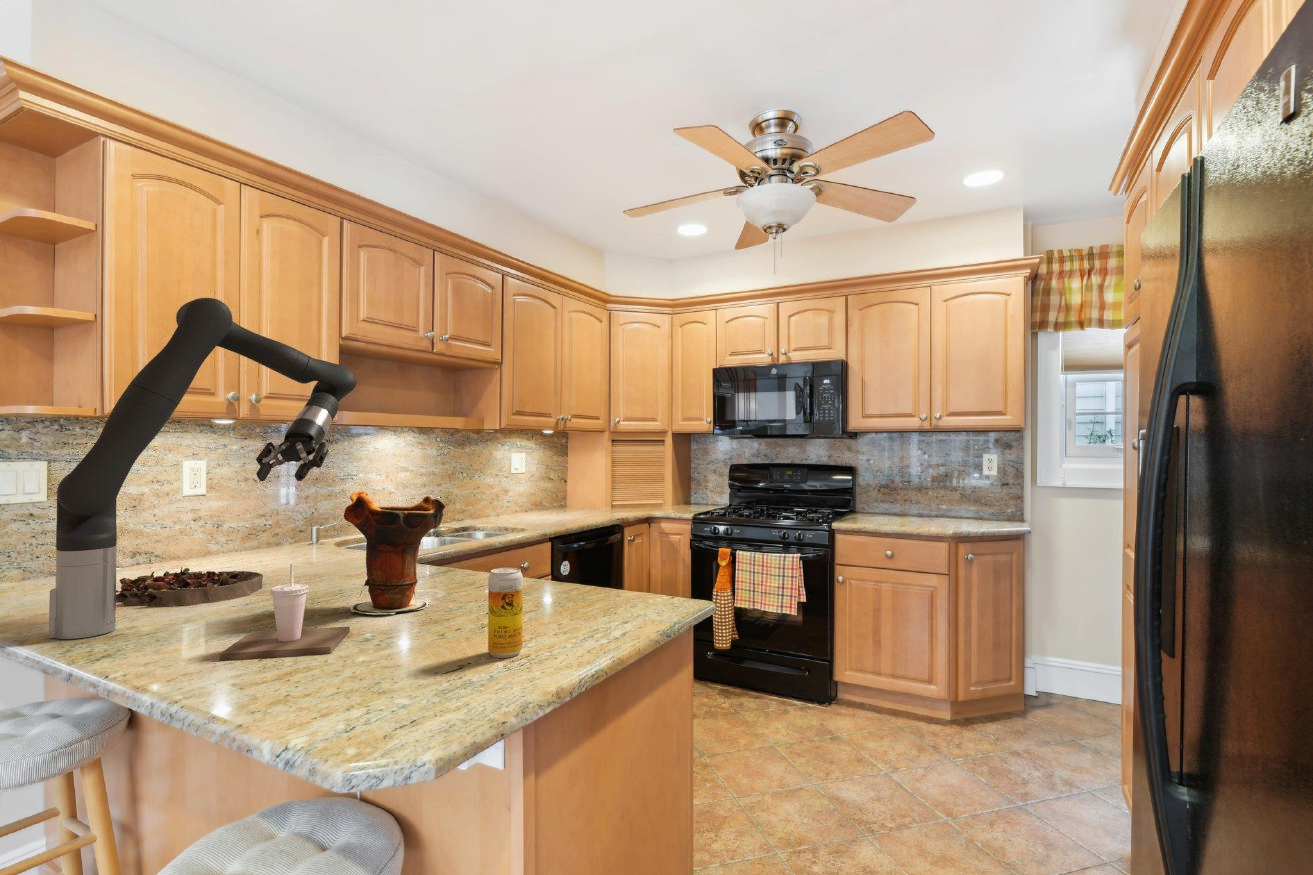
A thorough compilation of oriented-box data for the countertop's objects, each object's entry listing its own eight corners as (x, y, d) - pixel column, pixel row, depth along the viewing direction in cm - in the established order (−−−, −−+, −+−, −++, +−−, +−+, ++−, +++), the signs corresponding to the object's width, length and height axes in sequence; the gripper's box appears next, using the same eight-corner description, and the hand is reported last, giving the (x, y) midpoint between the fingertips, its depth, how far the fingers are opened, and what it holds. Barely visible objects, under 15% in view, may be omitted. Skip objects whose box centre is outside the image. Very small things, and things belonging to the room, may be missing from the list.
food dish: (93, 599, 168) (94, 569, 168) (239, 582, 193) (239, 555, 193) (123, 617, 145) (124, 581, 145) (284, 594, 170) (285, 564, 170)
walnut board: (219, 660, 114) (219, 653, 114) (251, 638, 128) (251, 631, 128) (330, 653, 118) (330, 646, 118) (349, 632, 132) (349, 626, 132)
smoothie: (315, 634, 126) (316, 561, 126) (294, 643, 120) (294, 567, 120) (284, 633, 127) (285, 561, 127) (261, 643, 120) (262, 567, 120)
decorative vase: (458, 607, 153) (458, 490, 153) (356, 623, 138) (357, 494, 139) (425, 592, 168) (426, 487, 169) (331, 606, 154) (332, 490, 154)
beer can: (492, 660, 114) (492, 574, 114) (484, 651, 119) (484, 569, 119) (526, 655, 116) (526, 571, 117) (517, 646, 122) (517, 566, 122)
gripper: (273, 417, 153) (239, 467, 141) (332, 416, 152) (303, 467, 141) (287, 440, 158) (255, 490, 146) (344, 439, 158) (316, 490, 146)
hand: (278, 478), depth 144 cm, fingers open, 8 cm apart
